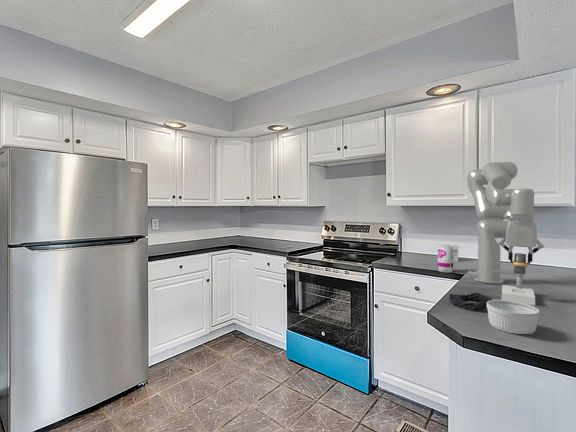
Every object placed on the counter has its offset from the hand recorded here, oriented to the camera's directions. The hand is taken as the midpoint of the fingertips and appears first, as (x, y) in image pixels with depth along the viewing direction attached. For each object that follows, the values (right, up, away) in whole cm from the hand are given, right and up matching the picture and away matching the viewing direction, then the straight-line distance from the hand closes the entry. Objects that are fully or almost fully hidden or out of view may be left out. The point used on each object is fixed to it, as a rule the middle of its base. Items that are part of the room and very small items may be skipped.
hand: (519, 262), depth 126 cm
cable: (-26, -16, -9) cm, 31 cm away
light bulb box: (+20, -13, +93) cm, 96 cm away
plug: (0, -5, 0) cm, 5 cm away
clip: (0, -6, +8) cm, 11 cm away
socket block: (0, -15, 0) cm, 15 cm away
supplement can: (-3, -14, +54) cm, 56 cm away
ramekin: (-27, -16, -32) cm, 44 cm away
